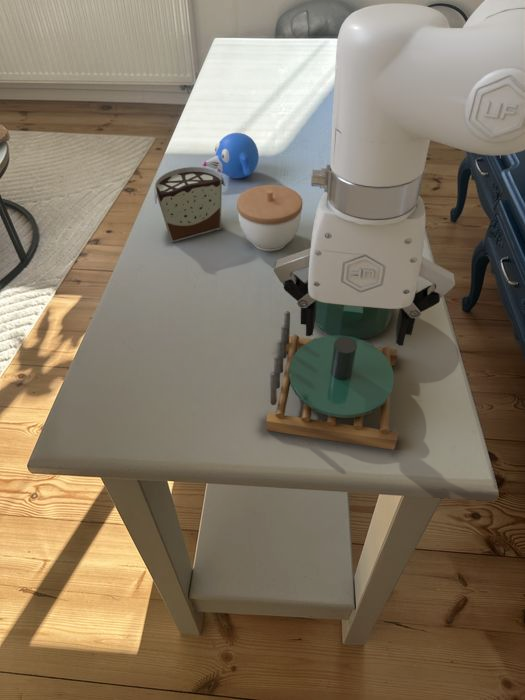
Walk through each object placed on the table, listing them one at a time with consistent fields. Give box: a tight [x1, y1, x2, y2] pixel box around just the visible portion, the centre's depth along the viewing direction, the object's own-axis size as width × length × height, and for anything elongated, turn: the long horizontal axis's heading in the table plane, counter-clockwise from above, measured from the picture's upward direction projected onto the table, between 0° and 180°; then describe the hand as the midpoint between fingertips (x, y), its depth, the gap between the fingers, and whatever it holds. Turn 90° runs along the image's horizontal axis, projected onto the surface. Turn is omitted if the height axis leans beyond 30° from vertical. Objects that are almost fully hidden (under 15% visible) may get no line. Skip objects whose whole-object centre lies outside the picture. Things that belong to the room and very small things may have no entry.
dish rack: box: [265, 310, 398, 450], centre depth 58 cm, size 15×14×8 cm
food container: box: [153, 166, 226, 243], centre depth 84 cm, size 12×6×10 cm, turn 116°
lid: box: [289, 334, 395, 419], centre depth 57 cm, size 13×13×6 cm
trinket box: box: [236, 184, 303, 252], centre depth 81 cm, size 11×11×9 cm
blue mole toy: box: [201, 132, 259, 179], centre depth 97 cm, size 12×12×8 cm
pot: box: [315, 300, 394, 340], centre depth 68 cm, size 12×17×8 cm
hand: (354, 331), depth 53 cm, fingers open, 9 cm apart
